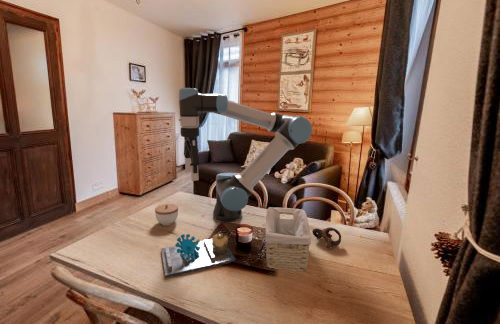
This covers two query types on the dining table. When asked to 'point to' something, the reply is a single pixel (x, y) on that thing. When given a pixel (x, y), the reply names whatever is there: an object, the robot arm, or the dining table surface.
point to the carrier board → (198, 256)
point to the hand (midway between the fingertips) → (191, 176)
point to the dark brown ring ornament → (327, 236)
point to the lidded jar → (166, 213)
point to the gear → (187, 246)
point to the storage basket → (287, 239)
